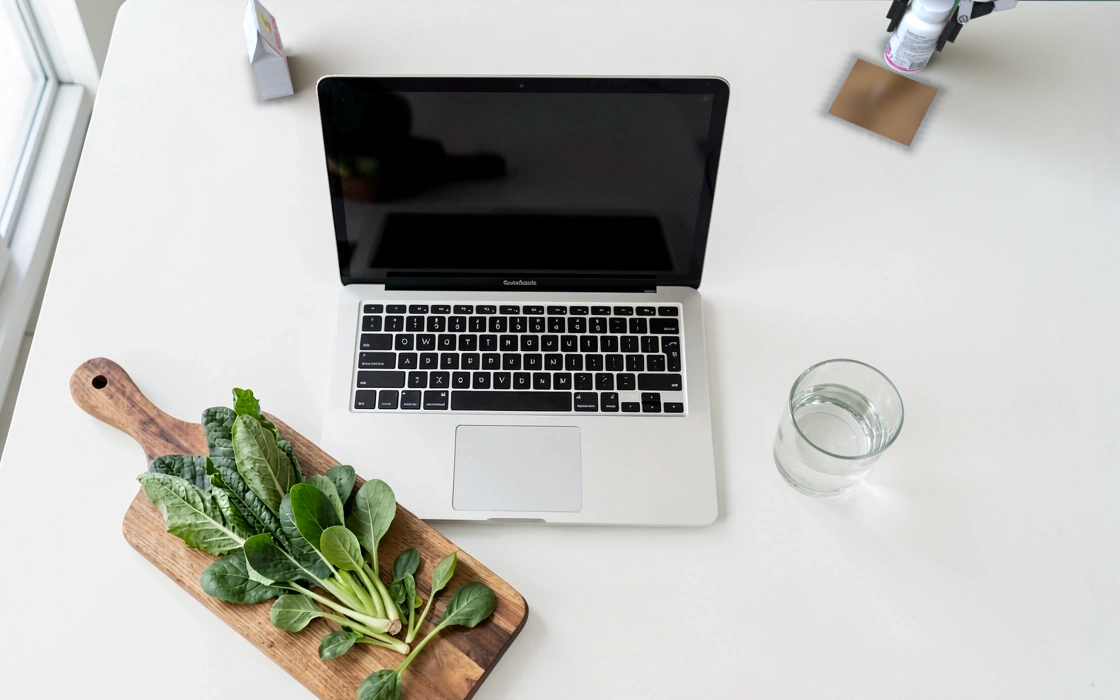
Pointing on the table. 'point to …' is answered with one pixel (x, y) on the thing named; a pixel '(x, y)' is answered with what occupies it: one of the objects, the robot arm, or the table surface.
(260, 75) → the milk carton
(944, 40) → the robot arm
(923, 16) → the pill bottle
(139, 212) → the table surface
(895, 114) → the coaster
